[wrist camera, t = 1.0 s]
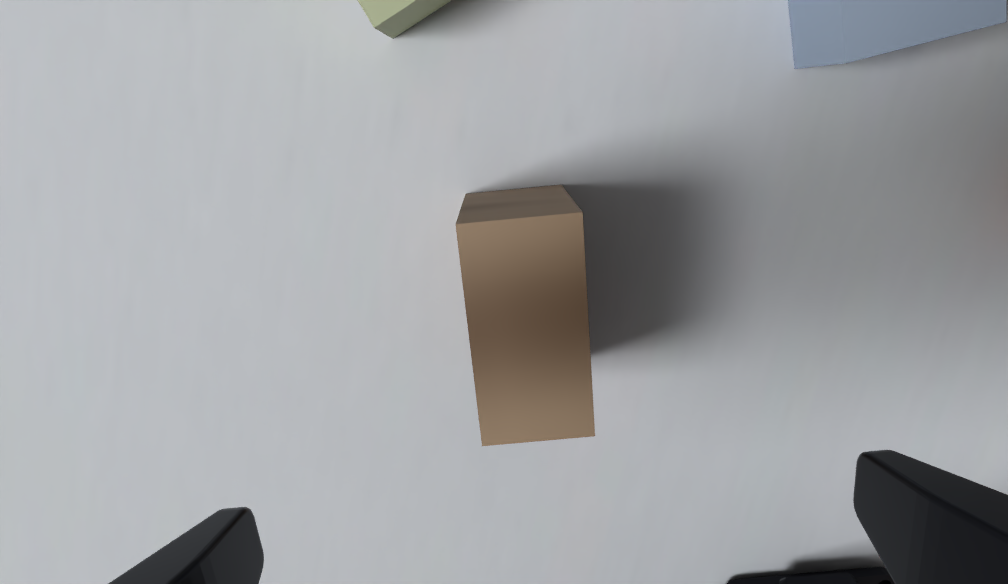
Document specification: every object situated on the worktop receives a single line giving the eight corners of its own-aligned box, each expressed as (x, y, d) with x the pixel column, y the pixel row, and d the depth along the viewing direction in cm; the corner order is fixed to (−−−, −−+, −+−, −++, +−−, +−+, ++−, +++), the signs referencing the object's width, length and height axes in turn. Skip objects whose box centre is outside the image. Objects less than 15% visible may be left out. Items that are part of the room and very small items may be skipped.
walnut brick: (572, 359, 21) (594, 436, 16) (485, 366, 21) (482, 446, 16) (560, 184, 19) (582, 211, 14) (466, 193, 19) (455, 224, 14)
